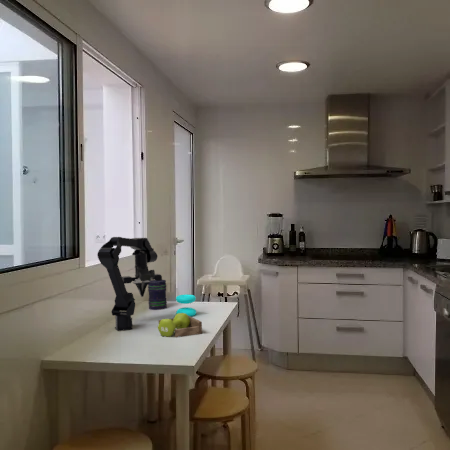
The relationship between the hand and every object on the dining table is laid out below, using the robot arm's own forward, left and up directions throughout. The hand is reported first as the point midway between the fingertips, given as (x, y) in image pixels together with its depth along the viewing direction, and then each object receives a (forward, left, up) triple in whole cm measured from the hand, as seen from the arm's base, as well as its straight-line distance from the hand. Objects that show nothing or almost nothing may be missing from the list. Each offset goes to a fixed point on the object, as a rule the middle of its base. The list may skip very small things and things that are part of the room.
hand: (142, 296), depth 238 cm
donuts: (+23, +2, -12) cm, 26 cm away
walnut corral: (+9, -26, -12) cm, 30 cm away
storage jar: (+17, +29, -12) cm, 36 cm away
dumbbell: (+5, -29, -12) cm, 32 cm away
